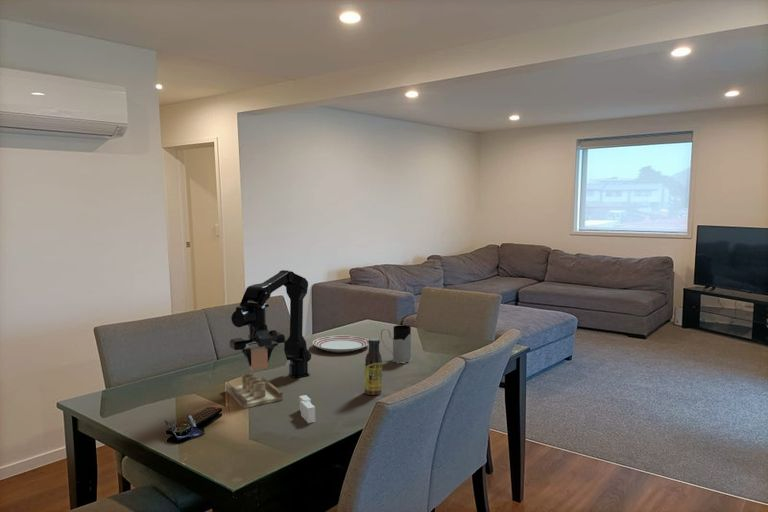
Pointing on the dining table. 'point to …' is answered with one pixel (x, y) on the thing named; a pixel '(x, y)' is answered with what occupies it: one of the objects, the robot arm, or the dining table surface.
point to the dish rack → (254, 391)
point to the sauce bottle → (373, 368)
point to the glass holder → (401, 343)
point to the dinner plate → (340, 343)
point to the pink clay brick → (259, 359)
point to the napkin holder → (307, 409)
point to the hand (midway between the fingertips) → (258, 364)
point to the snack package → (195, 430)
